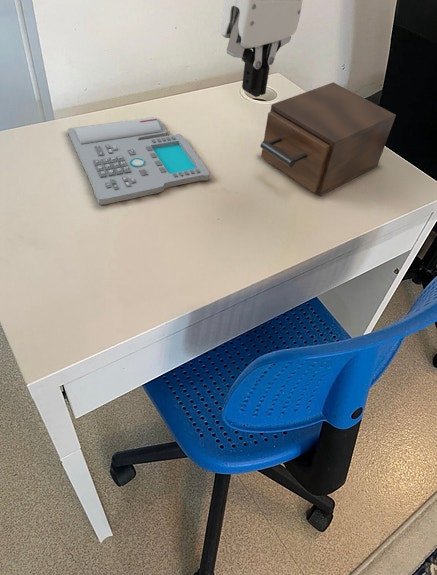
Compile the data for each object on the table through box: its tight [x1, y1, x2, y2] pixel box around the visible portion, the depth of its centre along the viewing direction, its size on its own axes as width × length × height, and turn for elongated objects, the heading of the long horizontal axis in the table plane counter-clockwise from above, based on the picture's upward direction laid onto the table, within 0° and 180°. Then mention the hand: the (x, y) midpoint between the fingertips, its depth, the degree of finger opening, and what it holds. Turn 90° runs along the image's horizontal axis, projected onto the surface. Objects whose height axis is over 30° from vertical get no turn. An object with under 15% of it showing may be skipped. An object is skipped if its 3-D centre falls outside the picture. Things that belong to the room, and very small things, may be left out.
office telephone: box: [67, 116, 210, 206], centre depth 89 cm, size 23×3×20 cm
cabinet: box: [269, 82, 397, 197], centre depth 90 cm, size 17×15×11 cm
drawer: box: [259, 110, 331, 194], centre depth 88 cm, size 20×13×9 cm
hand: (253, 91), depth 70 cm, fingers closed
